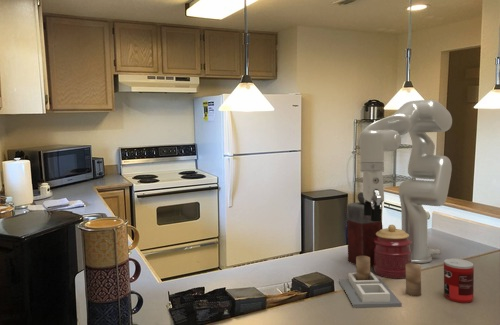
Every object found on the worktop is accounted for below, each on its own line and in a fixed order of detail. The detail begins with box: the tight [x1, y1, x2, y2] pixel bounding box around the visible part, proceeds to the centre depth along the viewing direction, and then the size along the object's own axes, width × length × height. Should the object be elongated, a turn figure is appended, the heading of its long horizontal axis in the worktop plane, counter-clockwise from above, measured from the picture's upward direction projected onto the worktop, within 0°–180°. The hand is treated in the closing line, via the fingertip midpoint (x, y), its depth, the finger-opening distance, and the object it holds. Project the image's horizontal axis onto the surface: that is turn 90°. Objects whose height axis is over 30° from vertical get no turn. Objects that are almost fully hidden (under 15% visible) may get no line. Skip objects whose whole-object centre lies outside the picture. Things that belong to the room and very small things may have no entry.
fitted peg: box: [355, 256, 371, 281], centre depth 129 cm, size 4×4×9 cm
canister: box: [373, 224, 412, 279], centre depth 141 cm, size 13×13×18 cm
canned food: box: [443, 258, 475, 304], centre depth 118 cm, size 8×8×11 cm
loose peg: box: [405, 263, 422, 297], centre depth 122 cm, size 4×4×9 cm
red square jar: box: [346, 191, 384, 267], centre depth 153 cm, size 9×11×28 cm
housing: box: [338, 271, 402, 308], centre depth 124 cm, size 14×20×4 cm
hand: (372, 218), depth 131 cm, fingers open, 9 cm apart
